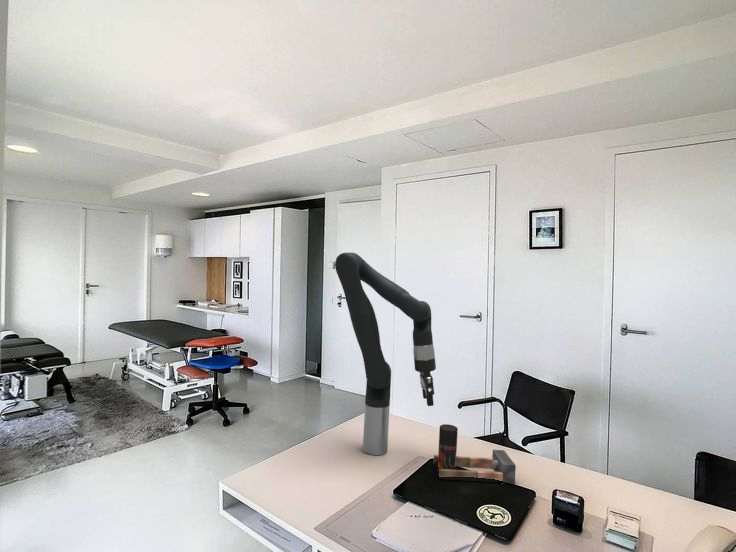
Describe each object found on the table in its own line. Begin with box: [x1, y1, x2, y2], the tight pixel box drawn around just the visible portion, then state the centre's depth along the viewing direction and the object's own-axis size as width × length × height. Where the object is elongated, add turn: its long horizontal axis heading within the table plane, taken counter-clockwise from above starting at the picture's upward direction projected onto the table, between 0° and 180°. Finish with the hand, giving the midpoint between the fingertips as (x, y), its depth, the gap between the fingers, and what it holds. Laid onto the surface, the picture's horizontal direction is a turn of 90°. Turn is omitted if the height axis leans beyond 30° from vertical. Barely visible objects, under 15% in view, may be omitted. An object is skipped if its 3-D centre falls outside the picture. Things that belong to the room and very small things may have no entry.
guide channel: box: [433, 449, 517, 485], centre depth 133 cm, size 24×11×6 cm, turn 89°
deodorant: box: [437, 423, 459, 470], centre depth 133 cm, size 6×6×15 cm
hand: (428, 401), depth 142 cm, fingers open, 8 cm apart
